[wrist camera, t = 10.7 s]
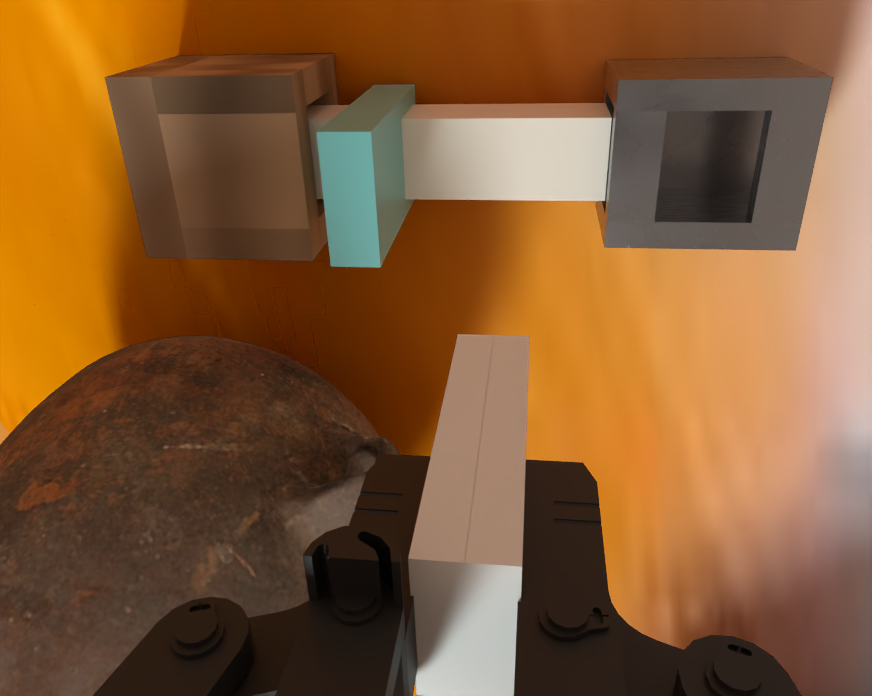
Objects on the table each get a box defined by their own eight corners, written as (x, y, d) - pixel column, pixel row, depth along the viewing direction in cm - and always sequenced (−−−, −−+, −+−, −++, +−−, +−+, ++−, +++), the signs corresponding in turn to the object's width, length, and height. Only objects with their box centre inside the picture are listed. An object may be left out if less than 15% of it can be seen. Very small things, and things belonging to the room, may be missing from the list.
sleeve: (786, 57, 33) (833, 77, 28) (758, 207, 36) (795, 250, 31) (606, 59, 34) (618, 79, 29) (595, 205, 37) (604, 247, 32)
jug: (328, 613, 55) (134, 1224, 28) (60, 480, 51) (-435, 1029, 25) (504, 381, 43) (450, 1048, 17) (173, 192, 40) (-521, 653, 14)
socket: (334, 52, 35) (291, 74, 29) (348, 212, 39) (313, 260, 33) (177, 55, 36) (104, 77, 30) (206, 211, 40) (147, 257, 34)
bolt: (605, 81, 34) (629, 130, 25) (597, 191, 37) (616, 272, 27) (274, 85, 36) (184, 132, 27) (287, 189, 38) (209, 263, 29)
